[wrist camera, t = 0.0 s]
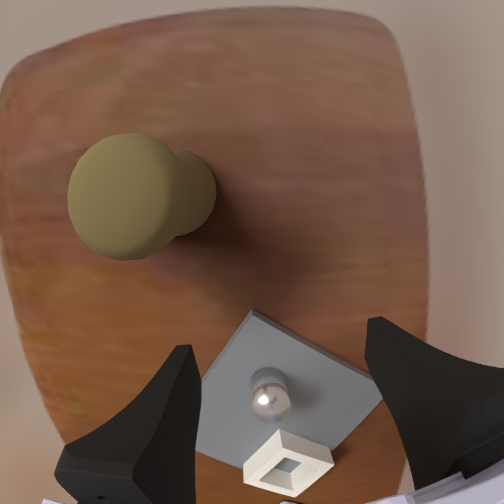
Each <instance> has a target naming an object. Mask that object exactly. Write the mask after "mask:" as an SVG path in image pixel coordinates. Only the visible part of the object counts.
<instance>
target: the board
mask: <svg viewBox="0 0 504 504" xmlns="http://www.w3.org/2000/svg"><path fill="white" fill-rule="evenodd" d="M264 367H274V368H277V369H279V370H280V371H281V372H282V373H283V374H284V377H285V381H286V385H287V390H288V394H289V398H290V402H291V407H292V409H291V413H290V415H289V416H288V417H287V418H286V419H285V420H283V421H281V422H278V423H274V424H266V423H262V422H260V421H258V420H257V419H256V418H255V417H254V415H253V412H252V398H251V377H252V375H253V374H254V373H255V372H256V371H257V370H259V369H261V368H264ZM201 381H202V402H201V410H200V418H199V425H198V432H197V440H196V448H195V450H196V451H198V452H201V453H203V454H205V455H208V456H210V457H213V458H215V459H217V460H220V461H223V462H225V463H228V464H230V465H233V466H236V467H238V468H241V469H243V464H244V463H245V462H246V461H247V460H248V459H249V458H250V457H251V456H252V455H253V454H254V453H255V452H256V451H257V450H258V449H259V448H261V447H262V446H263V445H264V444H265V443H266V442H267V441H268V440H269V438H270V437H271V436H272V435H273V434H274V433H275V432H276V431H277V430H278V429H281V430H284V431H286V432H289V433H292V434H294V435H297V436H299V437H302V438H305V439H307V440H310V441H313V442H316V443H318V444H321V445H324V446H327V447H329V450H330V452H332V451H333V450H334V449H335V448H336V447H337V446H338V445H339V444H340V443H341V442H342V441H343V440H344V439H345V438H346V437H347V436H348V435H349V434H350V433H351V432H352V431H353V430H354V429H355V428H356V427H357V426H358V425H359V424H360V423H361V422H362V421H363V420H364V419H365V418H366V417H367V415H368V414H369V413H370V412H371V411H372V410H373V409H374V408H375V407H376V406H377V405H378V403H379V402H380V401H381V400H382V399H383V397H382V395H381V393H380V391H379V390H378V388H377V386H376V384H375V382H374V380H373V378H372V376H371V375H370V374H368V373H366V372H364V371H362V370H360V369H358V368H356V367H355V366H353V365H351V364H349V363H347V362H345V361H343V360H342V359H340V358H338V357H336V356H334V355H332V354H331V353H329V352H327V351H325V350H323V349H321V348H320V347H318V346H316V345H314V344H312V343H311V342H309V341H307V340H305V339H304V338H302V337H300V336H298V335H296V334H295V333H293V332H291V331H289V330H288V329H286V328H284V327H282V326H281V325H279V324H277V323H275V322H274V321H272V320H270V319H269V318H267V317H265V316H263V315H262V314H260V313H258V312H257V311H255V310H253V309H251V310H250V312H249V313H248V314H247V316H246V317H245V319H244V320H243V322H242V323H241V324H240V326H239V327H238V329H237V330H236V332H235V333H234V334H233V336H232V337H231V339H230V340H229V341H228V343H227V344H226V346H225V347H224V348H223V350H222V351H221V353H220V354H219V355H218V357H217V358H216V360H215V361H214V362H213V364H212V365H211V367H210V368H209V369H208V371H207V372H206V374H205V375H204V376H203V378H202V379H201ZM300 464H301V462H298V461H295V460H292V459H289V458H286V457H284V458H283V459H282V460H281V461H280V462H279V463H278V464H277V465H276V466H274V467H273V468H276V469H279V470H282V471H285V472H288V473H291V472H292V471H293V470H294V469H295V468H296V467H298V466H299V465H300Z"/></svg>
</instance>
